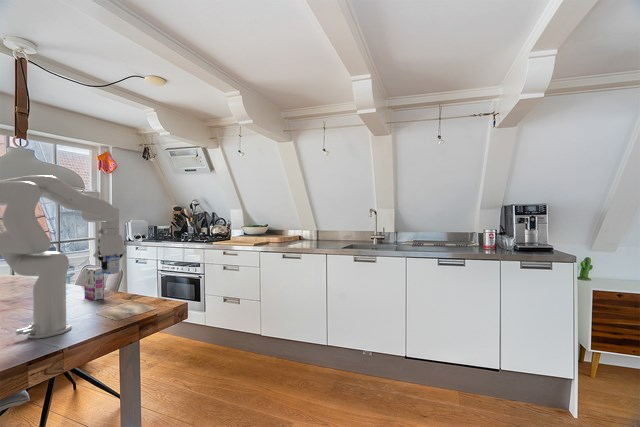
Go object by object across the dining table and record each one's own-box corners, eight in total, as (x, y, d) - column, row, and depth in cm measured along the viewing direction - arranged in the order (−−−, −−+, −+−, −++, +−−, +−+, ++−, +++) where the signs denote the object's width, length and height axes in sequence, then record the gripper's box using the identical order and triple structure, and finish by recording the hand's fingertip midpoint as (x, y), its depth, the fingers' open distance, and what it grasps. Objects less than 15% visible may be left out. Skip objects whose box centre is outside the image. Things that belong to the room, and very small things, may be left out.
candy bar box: (104, 298, 161) (104, 268, 161) (94, 301, 157) (93, 270, 157) (94, 295, 167) (94, 266, 167) (84, 298, 162) (83, 268, 162)
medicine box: (101, 273, 147) (101, 255, 147) (111, 271, 151) (110, 254, 151) (110, 274, 143) (109, 256, 143) (119, 272, 147) (119, 255, 147)
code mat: (116, 320, 128) (116, 320, 128) (96, 314, 136) (96, 313, 136) (157, 308, 143) (157, 308, 143) (136, 303, 152) (136, 302, 152)
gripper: (94, 233, 138) (94, 272, 138) (132, 231, 152) (132, 266, 152) (86, 232, 141) (86, 271, 142) (124, 230, 156) (124, 265, 156)
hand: (110, 268), depth 147 cm, fingers closed on medicine box, 4 cm apart
